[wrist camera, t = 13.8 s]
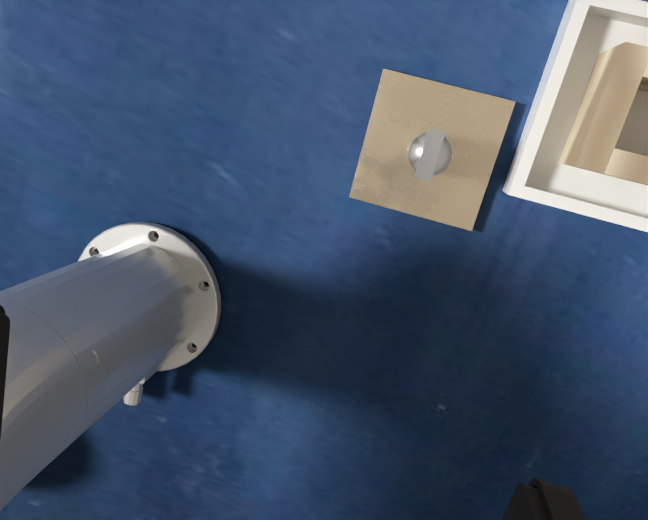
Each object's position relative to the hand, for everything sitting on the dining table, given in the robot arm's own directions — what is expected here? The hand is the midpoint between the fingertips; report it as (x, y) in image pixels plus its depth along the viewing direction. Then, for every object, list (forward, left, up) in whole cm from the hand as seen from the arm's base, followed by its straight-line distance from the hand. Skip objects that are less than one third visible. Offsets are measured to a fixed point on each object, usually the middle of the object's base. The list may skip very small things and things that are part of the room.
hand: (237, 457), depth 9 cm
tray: (+10, -14, -30) cm, 35 cm away
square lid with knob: (+5, -2, -30) cm, 31 cm away
